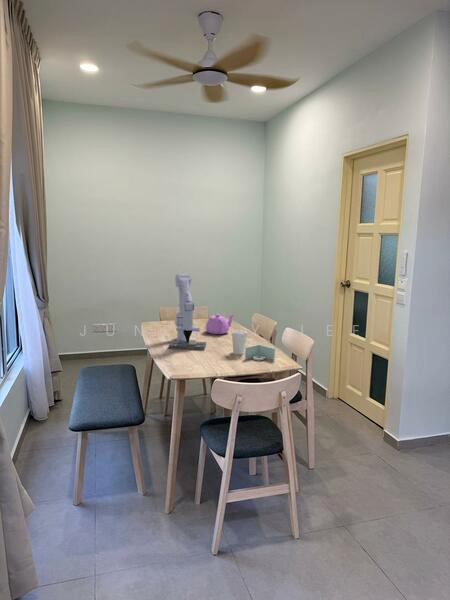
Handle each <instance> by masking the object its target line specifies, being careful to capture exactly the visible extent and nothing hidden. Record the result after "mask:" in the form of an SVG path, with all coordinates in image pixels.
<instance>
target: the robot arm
mask: <svg viewBox="0 0 450 600" xmlns="http://www.w3.org/2000/svg"><path fill="white" fill-rule="evenodd" d="M191 283H192V275H191V274H190V273H189V274H186V273H185V274H182V273H181V274H179V273H177V274H176V275H175V287H177V288H178V302H179V303H178V306H179V310H178V311H179V312H177V313H175V316H174V318H175V319H174V324H175V327H176V328H175V329H176V330H175V331H176V339H175V341H186V343H189V340H190V338H191V336H192V333H193V332H197V333H198V332H200V331H201V330H200V329H201V328H200V327H193V325H194V323H193V322H194V319H193V317H194V310H195V303H194V300H193V298H192V293H191V292H190V286H191Z"/></svg>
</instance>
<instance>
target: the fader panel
mask: <svg viewBox="0 0 450 600" xmlns="http://www.w3.org/2000/svg"><path fill="white" fill-rule="evenodd" d="M206 346H207V342H206V341H197V342H196V345H190V344H189V343H186V341H176V340H171V342H169V344H168V349H171V350H191V351H193V350H194V351H205V349H206Z"/></svg>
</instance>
